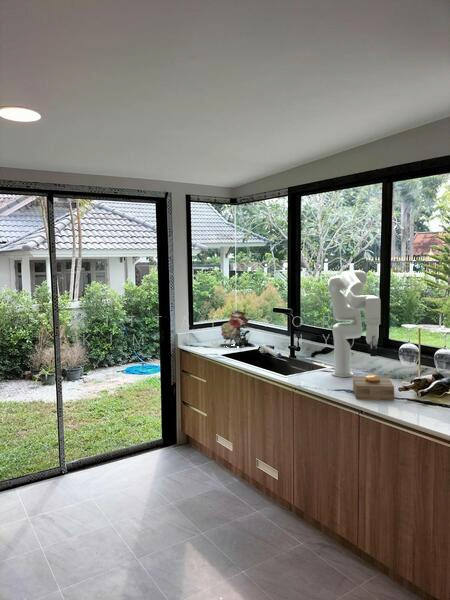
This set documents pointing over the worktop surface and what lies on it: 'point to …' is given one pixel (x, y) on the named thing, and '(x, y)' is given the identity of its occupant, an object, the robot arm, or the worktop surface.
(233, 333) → the rose bouquet
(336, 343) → the robot arm
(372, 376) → the pin
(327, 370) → the worktop surface
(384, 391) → the hitch block
